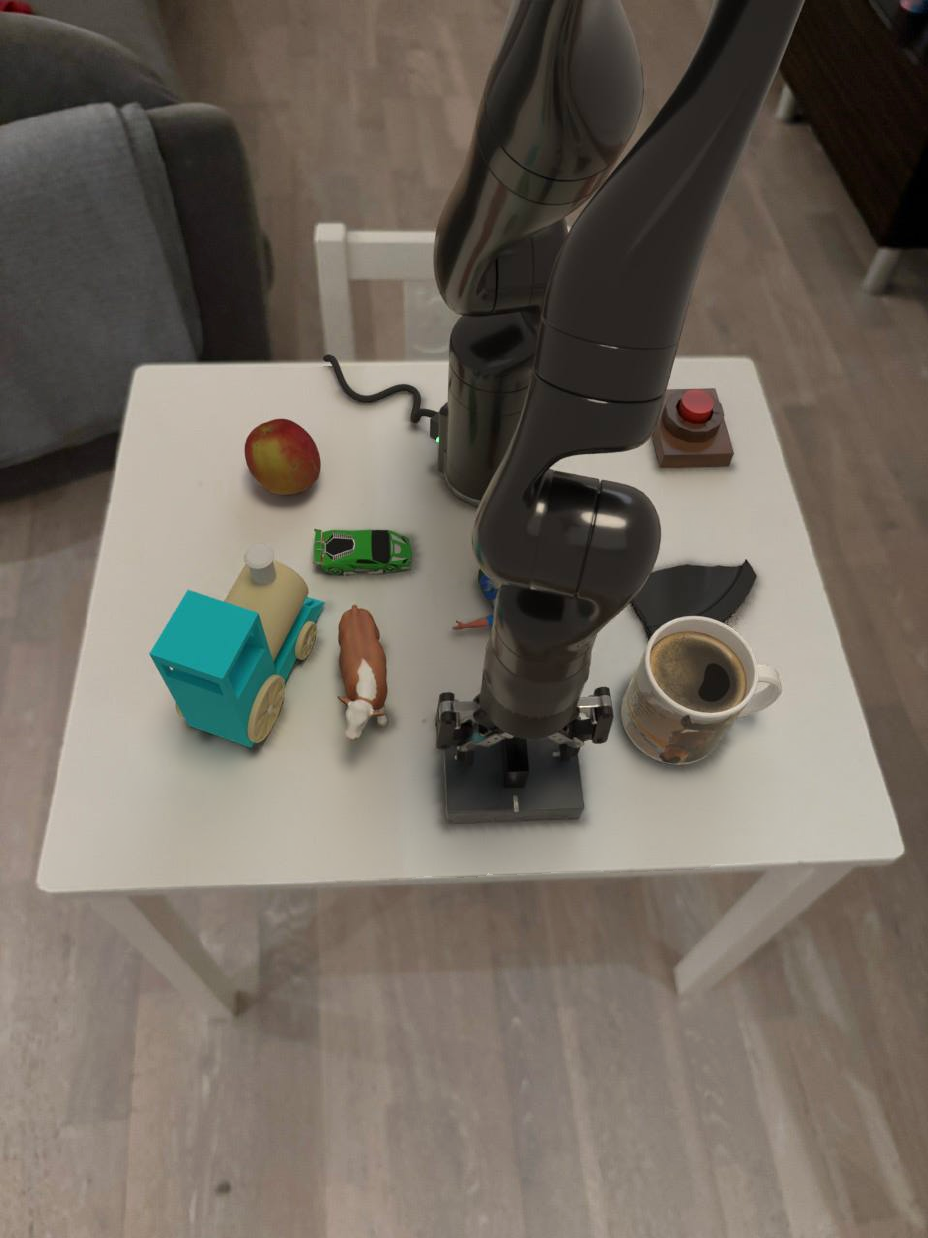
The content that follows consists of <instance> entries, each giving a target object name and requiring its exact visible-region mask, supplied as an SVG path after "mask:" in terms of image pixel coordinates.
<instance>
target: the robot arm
mask: <svg viewBox="0 0 928 1238" xmlns="http://www.w3.org/2000/svg"><path fill="white" fill-rule="evenodd" d="M805 1H806V0H713V2H712V5H711V9H710V12H709V14H708V17H707V21H706V23H705V27H704V29H703V32H702V34H701V37H700V39H699V42H698V44H697V46H696V49H695V51H694V53H693V55H692V57H691V58H690V61H689V63H688V65H687V67H686V69H685V70H684V73H683V74H682V76H681V78H680V79H679V81H678V83H677V84H676V86H675V88H674V89H673V91H672V93H671V94H670V96H669V97H668V98H667V100H666V101H665V103H664V104H663V106H662V107H661V108H660V110H659V111H658V113H657V114H656V116H655V117H654V119H653V120H652V122H651V123H650V124H649V126H648V127H647V128H646V129H645V130H644V132H643V133H642V134H641V136H640V137H639V139H637V141H636V142H635V143H634V144H633V146H632V147H631V148H630V150H629V152H628V153H627V154H626V155H625V156H624V158H622V160H621V161H620V162H619V163H618V165H617V166H616V167H615V165H616V164H617V162H618V161H619V159H620V157H621V156H622V154H623V152H624V151H625V149H626V147H627V146H628V144H629V142H630V140H631V139H632V137H633V134H634V133H635V131H636V128H637V125H638V123H639V120H640V117H641V115H642V111H643V106H644V98H645V97H644V93H645V85H644V84H645V83H644V81H645V80H644V70H643V64H642V59H641V55H640V51H639V47H638V44H637V40H636V37H635V35H634V32H633V28H632V26H631V24H630V21H629V18H628V16H627V13H626V11H625V9H624V6H623V4H622V2H621V0H512V1H511V4H510V7H509V11H508V14H507V17H506V20H505V24H504V27H503V30H502V32H501V36H500V39H499V42H498V45H497V48H496V51H495V54H494V56H493V58H492V62H491V65H490V67H489V70H488V73H487V77H486V80H485V83H484V87H483V91H482V95H481V98H480V102H479V105H478V108H477V114H476V117H475V122H474V126H473V131H472V135H471V139H470V142H469V143H470V144H469V146H468V151H467V154H466V158H465V160H464V162H463V163H464V164H463V166H462V169H461V171H460V173H459V175H458V177H457V180H456V181H455V183H454V185H453V187H452V189H451V191H450V193H449V195H448V197H447V199H446V201H445V202H444V205H443V208H442V211H441V213H440V216H439V217H438V218H439V219H438V222H437V226H436V230H435V235H434V241H433V242H434V243H433V252H432V253H433V256H432V258H433V262H432V263H433V272H434V273H433V274H434V280H435V285H436V287H437V289H438V292H439V296H440V297H441V299H442V301H443V302H444V303H445V305H446V306H447V308H449V309H450V310H451V311H452V312H454V313H455V314H456V315H459V316H460V317H459V318H458V319H457V320H456V322H455V323H454V325H453V326H452V329H451V332H450V334H449V335H450V336H449V341H448V342H449V343H448V371H447V372H448V373H447V376H448V377H447V378H448V379H447V401H446V402H445V403H444V404H443V405H442V406H441V407H440V408H439V411H436V410H433V409H430V408H421V406H422V395H421V393H420V391H419V390H418V389H417V387H415V386H414V385H411V384H408V383H400V384H394V385H392V386H390V387H388V388H386V389H383V390H381V391H379V392H375V393H374V394H369V395H364V394H360V393H358V392H356V391H355V390H353V389H352V388H351V387H350V385H349V384H348V382H347V381H346V378H345V376H344V373H343V370H342V368H341V366H340V363H339V361H338V359H337V358H336V356H335V355H332V354H330V353H329V354H325V355H323V357H322V360H323V361H324V362H327V363H329V364H331V367H332V369H333V370H332V371H333V372H334V375H335V378H336V380H337V383H338V384H339V386H340V388H341V389H342V391H343V392H344V393H345V394H346V395H347V397H349V398H350V399H352V400H353V401H355V402H357V403H362V404H372V403H376V402H379V401H382V400H383V399H386V398H389V397H391V396H393V395H396V394H398V393H402V392H405V393H409V394H410V395H412V398H413V403H412V408H411V412H410V421H411V423H413V424H419V422H420V421H421V419H422V417H426V418H430V419H429V437H430V438H431V439H432V440H434V441H435V442H437V470H438V472H440V473H442V474H443V478H444V481H445V483H446V486H447V487H448V489H449V490H450V492H451V493H452V494H453V495H454V496H455V497H457V498H458V499H459V500H461V501H463V502H465V503H466V504H469V505H473V506H477V509H476V512H475V515H474V518H473V522H472V526H471V535H470V539H471V541H470V542H471V549H472V553H473V556H474V559H475V561H476V563H477V566H478V567H480V569H481V570H482V571H483V573H484V574H485V575H486V576H487V577H488V578H490V579H491V580H493V581H495V582H498V583H500V586H499V589H498V592H497V595H496V601H495V607H494V617H493V624H492V627H491V630H490V632H489V635H488V637H487V640H486V645H485V652H484V658H483V667H482V676H481V677H482V678H481V684H480V690H479V691H480V692H479V693H478V694H477V695H476V696H475V697H474V698H473V699H472V700H459V699H455V697H456V696H455V693H453V692H450V691H444V692H442V693H440V694H439V696H438V702H437V707H436V712H435V713H436V714H435V719H434V726H435V734H436V735H435V736H436V741H435V749H437V750H439V751H443V750H447V749H449V748H451V745H453V746H456V756H457V760H458V761H464V766H472V765H473V758H474V749H475V748H476V747H478V746H482V747H486V748H488V747H490V746H492V745H494V744H496V743H498V742H500V741H502V740H503V739H505V738H507V739H511V738H513V737H518V738H523V739H540V738H545V737H546V738H548V739H550V740H552V741H553V742H555V743H557V744H558V745H559V750H560V758H561V762H570V759H571V757H573V756H576V755H577V754H578V755H579V753H580V750H581V748H582V747H584V746H585V742H587V741H591V740H592V743H593V744H595V745H601V744H605V743H607V742H608V738H609V736H610V732H611V728H612V725H613V721H614V717H615V715H614V708H613V702H612V695H611V689H610V687H608V686H598V687H596V688H594V692H593V694H589V695H588V696H581V695H582V693H583V691H584V686H585V685H586V683H587V681H588V680H589V676H590V667H591V662H592V650H593V648H594V645H595V642H596V639H597V637H598V634H599V633H600V632H601V630H602V629H603V628H604V627H606V626H607V625H608V624H609V623H610V622H611V621H613V619H615V618H616V617H617V616H618V615H620V614H621V612H623V611H624V610H625V609H626V608H627V606H629V605H630V604H631V603H632V600H633V599H634V598H635V597H636V595H637V594H638V593H639V591H640V590H641V589H642V587H643V586H644V584H645V583H646V581H647V579H648V577H649V576H650V574H651V573H652V572H653V570H654V568H655V565H656V563H657V559H658V557H659V553H660V549H661V544H662V527H661V526H662V524H661V520H660V516H659V514H658V511H657V509H656V506H655V505H654V504H653V501H652V500H651V499H650V498H649V497H648V496H647V494H645V493H644V492H643V491H642V490H640V489H638V488H636V487H635V486H632V485H629V484H626V483H623V482H617V481H612V480H608V479H601V480H600V479H599V478H597V477H592V476H587V475H581V474H576V473H572V472H566V471H560V470H555V469H551V468H552V467H553V466H554V465H555V464H557V463H558V462H559V461H561V460H563V459H566V458H570V457H575V456H583V455H598V454H599V455H601V454H602V455H603V454H616V453H624V452H628V451H632V450H635V449H639V448H640V447H642V446H643V445H645V444H646V443H647V442H648V441H649V440H650V439H651V437H653V435H652V434H653V432H654V430H655V428H656V425H657V423H658V420H659V416H660V413H661V410H662V406H663V401H664V397H665V394H666V390H667V389H668V386H669V382H670V378H671V375H672V371H673V367H674V363H675V361H676V360H675V359H676V356H677V351H678V349H679V343H680V340H681V337H682V332H683V328H684V325H685V321H686V317H687V314H688V309H689V307H690V306H689V305H690V302H691V299H692V296H693V292H694V289H695V286H696V282H697V279H698V275H699V272H700V269H701V266H702V263H703V260H704V257H705V253H706V251H707V248H708V245H709V242H710V240H711V236H712V233H713V231H714V228H715V226H716V222H717V220H718V218H719V216H720V212H721V209H722V206H723V204H724V201H725V199H726V197H727V195H728V193H729V190H730V187H731V185H732V182H733V180H734V178H735V175H736V173H737V170H738V169H739V165H740V163H741V161H742V159H743V155H744V153H745V151H746V148H747V147H748V144H749V142H750V139H751V136H752V133H753V132H754V129H755V127H756V124H757V122H758V120H759V118H760V115H761V112H762V111H763V108H764V105H765V103H766V100H767V98H768V95H769V93H770V90H771V87H772V85H773V82H774V80H775V77H776V76H777V74H778V70H779V68H780V65H781V63H782V60H783V59H784V58H783V57H784V55H785V52H786V50H787V47H788V45H789V43H790V39H791V37H792V35H793V32H794V29H795V27H796V24H797V23H798V22H797V21H798V20H799V16H800V14H801V12H802V9H803V7H804V4H805ZM614 167H615V168H614ZM586 202H587V204H586ZM584 204H586V205H585V206H584V208H583V209H582V210H581V212H580V213H579V215H578V216H577V217H576V219H575V220H574V222H573V224H572V225H571V227H570V229H569V228H568V224H567V219H566V217H567V216H569V215H570V214H572V213H573V212H575V211H576V210H578V209H579V208H580V207H581V206H583V205H584ZM580 713H581V714H584V715H585V716H586V717H587V718H585V719H582V717H581V716H580V715H581V714H580ZM489 730H491V731H490V732H489Z"/></svg>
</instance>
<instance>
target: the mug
mask: <svg viewBox="0 0 928 1238" xmlns="http://www.w3.org/2000/svg"><path fill="white" fill-rule="evenodd" d="M646 644H647V645H646V646H645V648H644V651H643V653H642V655H641V657H640V659H639V662H638V664H637V666H636V668H635V671H634V673H633V675H632V677H631V680H630V682H629V684H628V686H627V688H626V690H625V693H624V695H623V697H622V701H621V705H620V706H621V707H620V717H621V723H622V726H623V728H624V729H623V730H624V732H625V733H626V735H627V737H628V738H629V741H631V742H632V744H633V745H634V746H635V747H636V748H637V749H638V750H639V751H640V752H642V753H643V754H645V756H647V757H649V758H650V759H653V760H655V761H658V762H661V763H663V764H667V765H668V764H669V765H678V766H682V765H689V764H693V763H696V762H697V763H698V761H701V760H703V759H705V758H706V757H708V756H709V755H710V754H711V753H712V752H713V751H714V750H715V749H716V747H717V746H718V745H719V743H721V741H722V739H723V738H724V736H725V735H726V734H727V732H728V731H729V730H730V728H731V727H732V726H733V724H734V723H735V722H736V720H737V719H738V718H742V717H746V716H750V715H754V714H757V713H759V712H761V711H763V710H765V709H768V707H770V706H772V705H773V704H774V703H775V702H776V701H777V700H778V698H780V696H781V695H782V692H783V685H782V681H781V678H780V673H779V671H778V670H777V669H775V668H774V667H773V666H771V665H768V664H766V663H759V662H758V661H757V658H756V655H755V653H754V651H753V649H752V647H751V646H750V644H749V643H748V642H747V640H746V639H745V638H744V637H743V635H741V634H740V633H739V632H738V631H736V629H734V628H732V627H730V626H729V625H727V624H726V623H725V622H724V623H722V622H720V621H717V620H714V619H711V618H706V617H701V616H687V617H681V618H677V619H674V620H672V621H669V622H667V623H666V624H664V625H662V626H661V627H660V628H659V629H657V630H656V631H655V633H654V634H653V635H651V636H650V638H649V640H648V642H647V643H646ZM759 683H765V684H768V686H766V687H765V688H763V689H762V690H760V691H759V692H757V693H756V691H757V689H758V684H759Z"/></svg>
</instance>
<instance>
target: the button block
mask: <svg viewBox="0 0 928 1238" xmlns="http://www.w3.org/2000/svg"><path fill="white" fill-rule="evenodd" d="M689 390H702V391H704V392H706V393H708V394H709V395H710V396H711V397H712V398H713V401H714V406H713V409H712V412H711V414H710V417H709V419H708V420H707V421H706V422H704V423H701V424H693V423H690V422H688V421H685V420H684V419H683V418H681V417H680V415H679V413H678V408H679V405H680V402H681V399H682V396H683V395H684V393H686V392H687V391H689ZM652 439H653V442H654V443H653V444H654V448H655V451H656V457H657V461H658V466H659V468H660V469H668V468H669V469H671V468H674V469H675V468H701V467H702V468H703V467H704V468H705V467H706V468H707V467H729V466H730V464H731V461H732V459H733V457H734V455H735V452H734V448H733V445H732V441H731V438H730V434H729V431H728V427H727V424H726V420H725V411H724V408H723V405H722V403H721V402H720V399H719V395H718V392H717V389H716V388H715V387H713V388H712V387H711V388H710V387H709V388H708V387H707V388H671V389H670V388H669V389H668V388H667V390H666V394H665V397H664V401H663V406H662V410H661V413H660V416H659V420H658V423H657V425H656V428H655V430H654V432H653V434H652Z"/></svg>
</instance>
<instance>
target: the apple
mask: <svg viewBox="0 0 928 1238" xmlns="http://www.w3.org/2000/svg"><path fill="white" fill-rule="evenodd" d="M243 451H244V459H245V463H246V466H247V469H248V471H249V473H250V474H251V475H252V477H253V478H254V479H255V481H256V482H257V483H258V484H259V485H260V486H261V487H262V488H263V489H266V490H267V491H268V492H270V493H272V494H275V495H281V496H285V495H295V494H300V493H302V492H304V491H306V490H308V489H309V488H311V487H312V486H313V485H314V484H315V483H316V481H318V479H319V477H320V475H321V469H322V463H321V456H320V451H319V449H318V446H317V444H316V442H315V440H314V438H313V437H312V436H311V435H310V434H309V432H308V431H307V430H306V429H305V428H303V427H302V426H301V425H300V424H298V423H297V422H295V421H293V420H291V419H288V418H274V419H271V420H268V421H266V422H262V423H260V424H259V425H257V426H256V427H254V428H253V429H252V430H251V432H250V433H249V434H248V436H247V437H246V440H245V443H244V450H243Z"/></svg>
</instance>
